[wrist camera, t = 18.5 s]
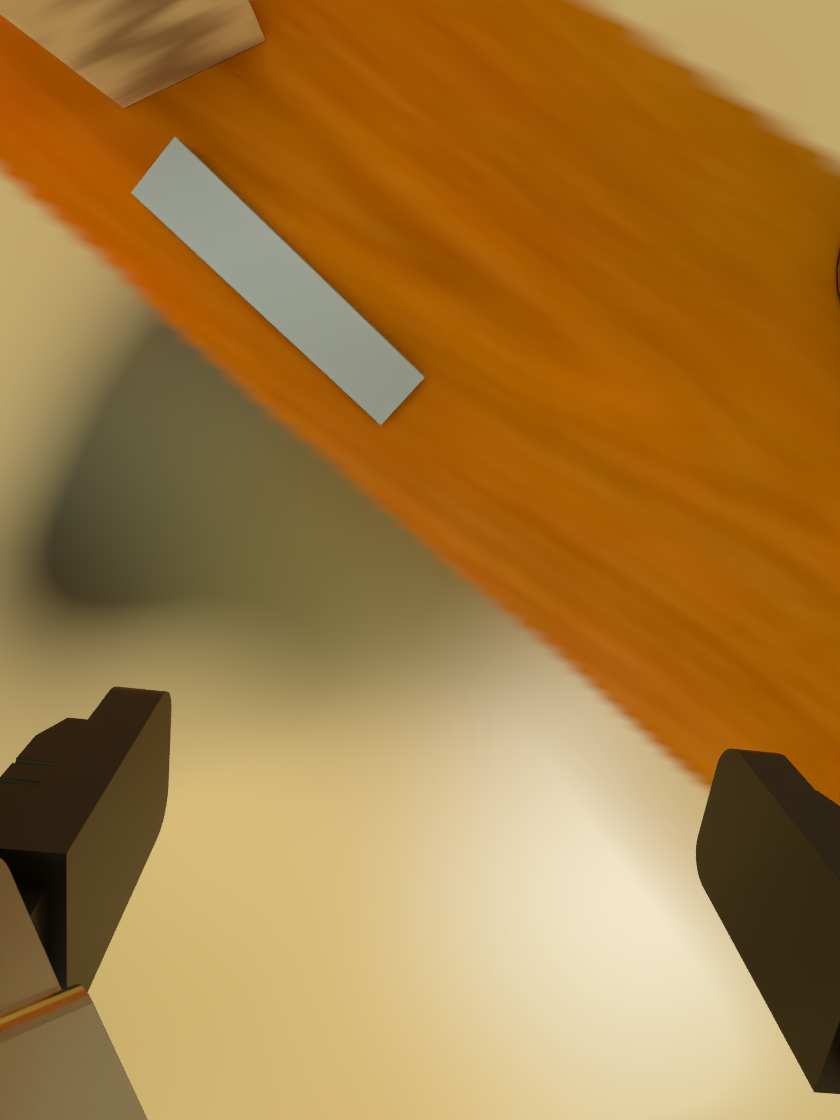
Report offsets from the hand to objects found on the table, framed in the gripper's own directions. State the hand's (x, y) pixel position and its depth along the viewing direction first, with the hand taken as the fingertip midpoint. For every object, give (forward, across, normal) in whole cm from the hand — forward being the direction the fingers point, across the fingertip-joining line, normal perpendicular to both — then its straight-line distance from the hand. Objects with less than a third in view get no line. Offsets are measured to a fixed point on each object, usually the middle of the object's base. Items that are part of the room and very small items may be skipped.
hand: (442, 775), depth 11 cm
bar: (+30, +6, -7) cm, 32 cm away
